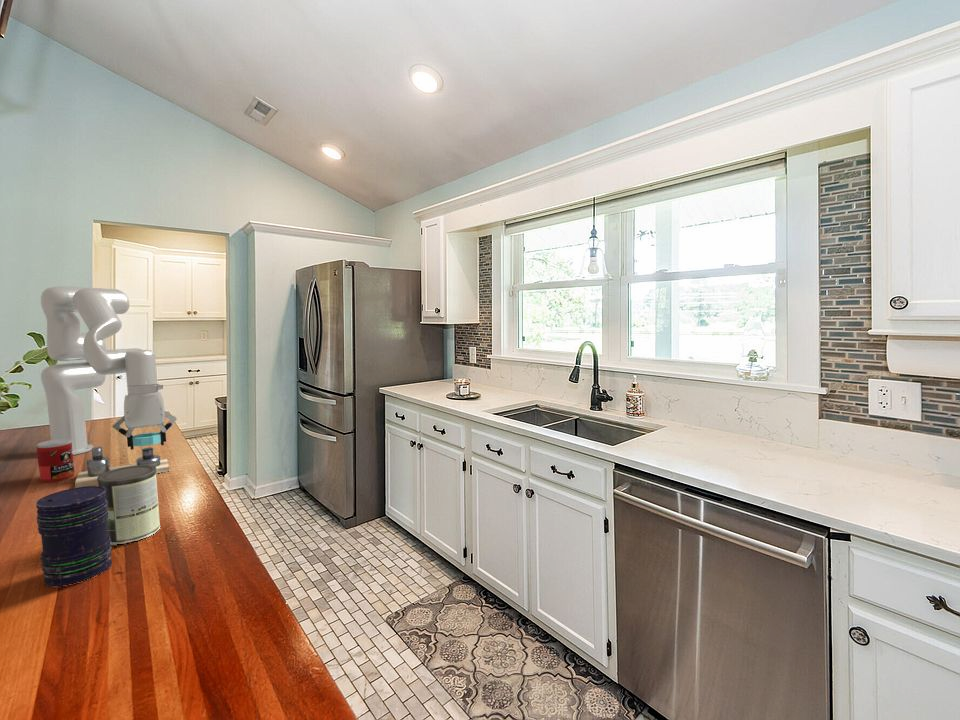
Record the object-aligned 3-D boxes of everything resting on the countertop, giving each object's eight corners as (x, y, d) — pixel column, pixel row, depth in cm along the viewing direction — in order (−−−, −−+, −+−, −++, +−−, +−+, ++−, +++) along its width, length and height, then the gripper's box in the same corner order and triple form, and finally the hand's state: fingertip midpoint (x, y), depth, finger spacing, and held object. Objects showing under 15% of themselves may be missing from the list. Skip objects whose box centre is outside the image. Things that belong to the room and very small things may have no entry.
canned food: (54, 483, 133) (50, 446, 132) (32, 481, 135) (28, 445, 134) (81, 474, 141) (78, 439, 140) (60, 472, 142) (57, 438, 141)
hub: (136, 465, 144) (135, 448, 144) (160, 461, 148) (158, 444, 147) (136, 470, 140) (135, 452, 139) (160, 466, 143) (159, 449, 143)
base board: (79, 477, 138) (78, 472, 138) (167, 462, 151) (167, 458, 151) (75, 488, 129) (74, 483, 129) (169, 471, 142) (169, 467, 142)
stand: (88, 473, 137) (86, 447, 136) (110, 470, 140) (108, 444, 139) (87, 478, 133) (85, 451, 132) (109, 474, 136) (107, 448, 135)
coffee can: (90, 547, 96) (84, 481, 95) (124, 524, 106) (118, 465, 105) (142, 544, 97) (137, 479, 96) (170, 522, 107) (166, 464, 106)
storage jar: (109, 553, 94) (103, 482, 92) (116, 572, 87) (109, 495, 85) (42, 572, 87) (34, 495, 85) (43, 594, 80) (35, 511, 78)
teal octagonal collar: (133, 442, 144) (132, 434, 143) (160, 438, 148) (159, 431, 148) (133, 447, 138) (132, 439, 138) (161, 443, 142) (160, 435, 142)
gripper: (175, 385, 150) (179, 439, 151) (107, 391, 139) (112, 448, 141) (177, 388, 144) (181, 444, 145) (106, 394, 133) (111, 454, 135)
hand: (147, 446), depth 143 cm, fingers closed on teal octagonal collar, 7 cm apart
